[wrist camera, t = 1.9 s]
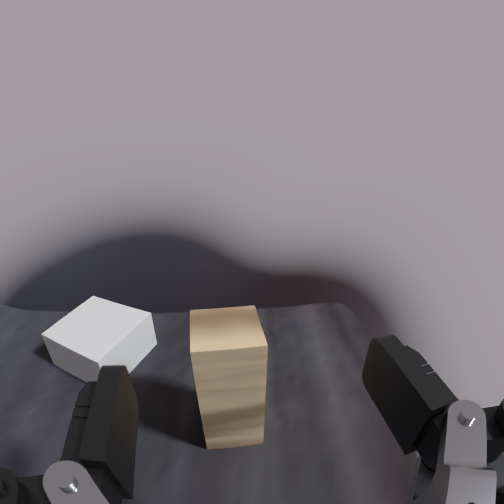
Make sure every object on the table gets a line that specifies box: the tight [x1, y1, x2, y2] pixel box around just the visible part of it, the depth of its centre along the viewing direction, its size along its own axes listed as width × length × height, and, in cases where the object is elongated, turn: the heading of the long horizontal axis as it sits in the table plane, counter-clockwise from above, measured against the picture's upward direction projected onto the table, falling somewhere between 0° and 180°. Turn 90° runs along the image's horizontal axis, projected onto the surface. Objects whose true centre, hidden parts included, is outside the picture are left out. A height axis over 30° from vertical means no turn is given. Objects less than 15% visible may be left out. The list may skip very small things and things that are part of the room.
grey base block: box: [42, 296, 157, 382], centre depth 34 cm, size 10×10×5 cm
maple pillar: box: [190, 306, 268, 449], centre depth 25 cm, size 5×5×12 cm
